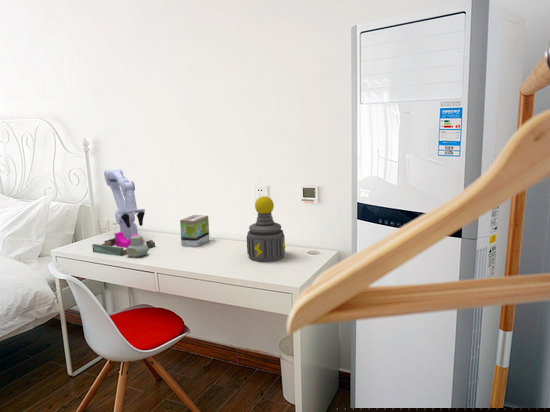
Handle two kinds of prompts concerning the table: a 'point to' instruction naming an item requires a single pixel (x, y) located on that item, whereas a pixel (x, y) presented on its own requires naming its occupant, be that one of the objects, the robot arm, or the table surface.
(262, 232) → the decorative lamp
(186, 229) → the tea box
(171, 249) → the table surface
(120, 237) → the toy block
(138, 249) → the air freshener
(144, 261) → the table surface
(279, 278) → the table surface
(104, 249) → the trap channel
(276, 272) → the table surface
